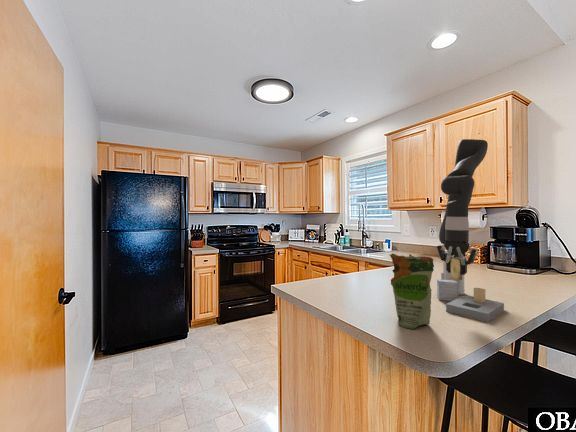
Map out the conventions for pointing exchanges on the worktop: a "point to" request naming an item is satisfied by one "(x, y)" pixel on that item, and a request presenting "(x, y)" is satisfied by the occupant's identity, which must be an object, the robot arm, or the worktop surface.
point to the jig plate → (476, 306)
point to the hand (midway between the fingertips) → (456, 273)
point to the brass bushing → (455, 268)
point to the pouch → (412, 289)
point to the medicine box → (447, 290)
